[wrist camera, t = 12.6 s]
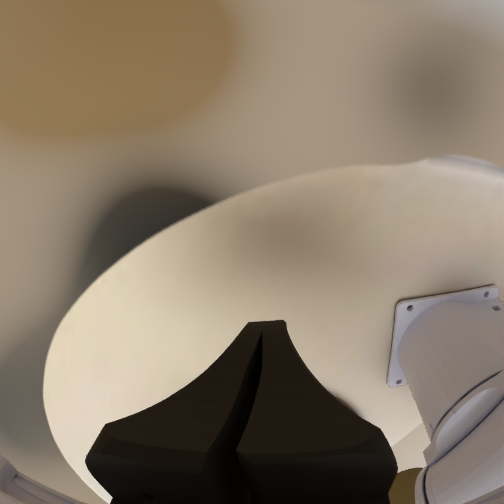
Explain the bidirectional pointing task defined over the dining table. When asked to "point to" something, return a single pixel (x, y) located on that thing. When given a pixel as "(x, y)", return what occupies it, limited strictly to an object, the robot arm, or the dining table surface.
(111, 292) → the dining table surface
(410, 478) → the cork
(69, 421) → the dining table surface
